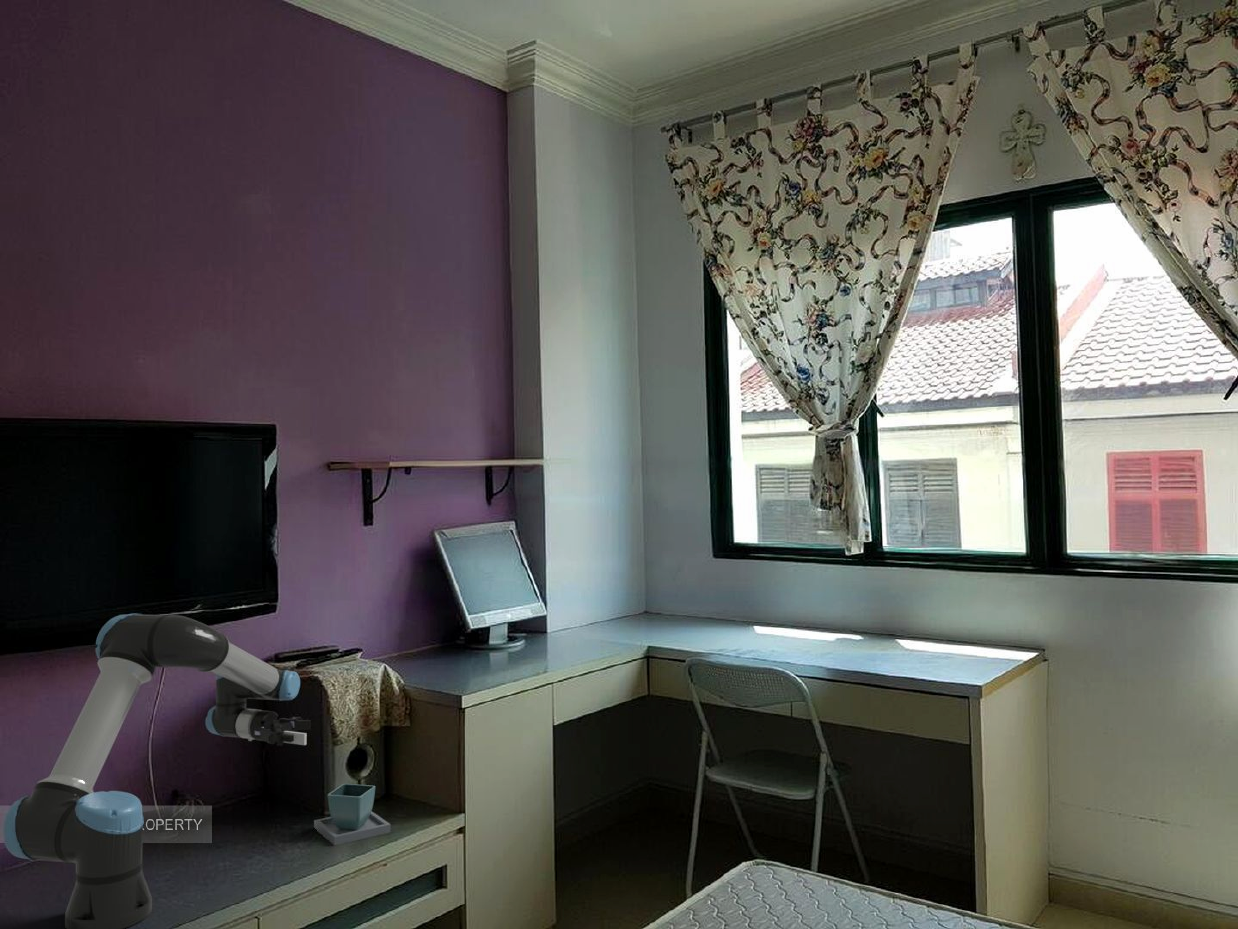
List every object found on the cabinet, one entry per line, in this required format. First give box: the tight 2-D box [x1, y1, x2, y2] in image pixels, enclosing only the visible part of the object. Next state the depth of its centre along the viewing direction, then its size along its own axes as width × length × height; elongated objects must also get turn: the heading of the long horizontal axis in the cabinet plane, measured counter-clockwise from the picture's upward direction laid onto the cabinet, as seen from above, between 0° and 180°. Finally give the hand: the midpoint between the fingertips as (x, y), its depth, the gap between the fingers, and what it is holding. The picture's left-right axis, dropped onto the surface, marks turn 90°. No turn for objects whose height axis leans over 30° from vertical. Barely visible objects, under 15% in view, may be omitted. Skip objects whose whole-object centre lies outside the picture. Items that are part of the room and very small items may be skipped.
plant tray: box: [313, 811, 392, 846], centre depth 237 cm, size 14×14×2 cm
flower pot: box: [326, 783, 376, 830], centre depth 237 cm, size 9×9×9 cm
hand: (324, 733), depth 241 cm, fingers open, 13 cm apart
